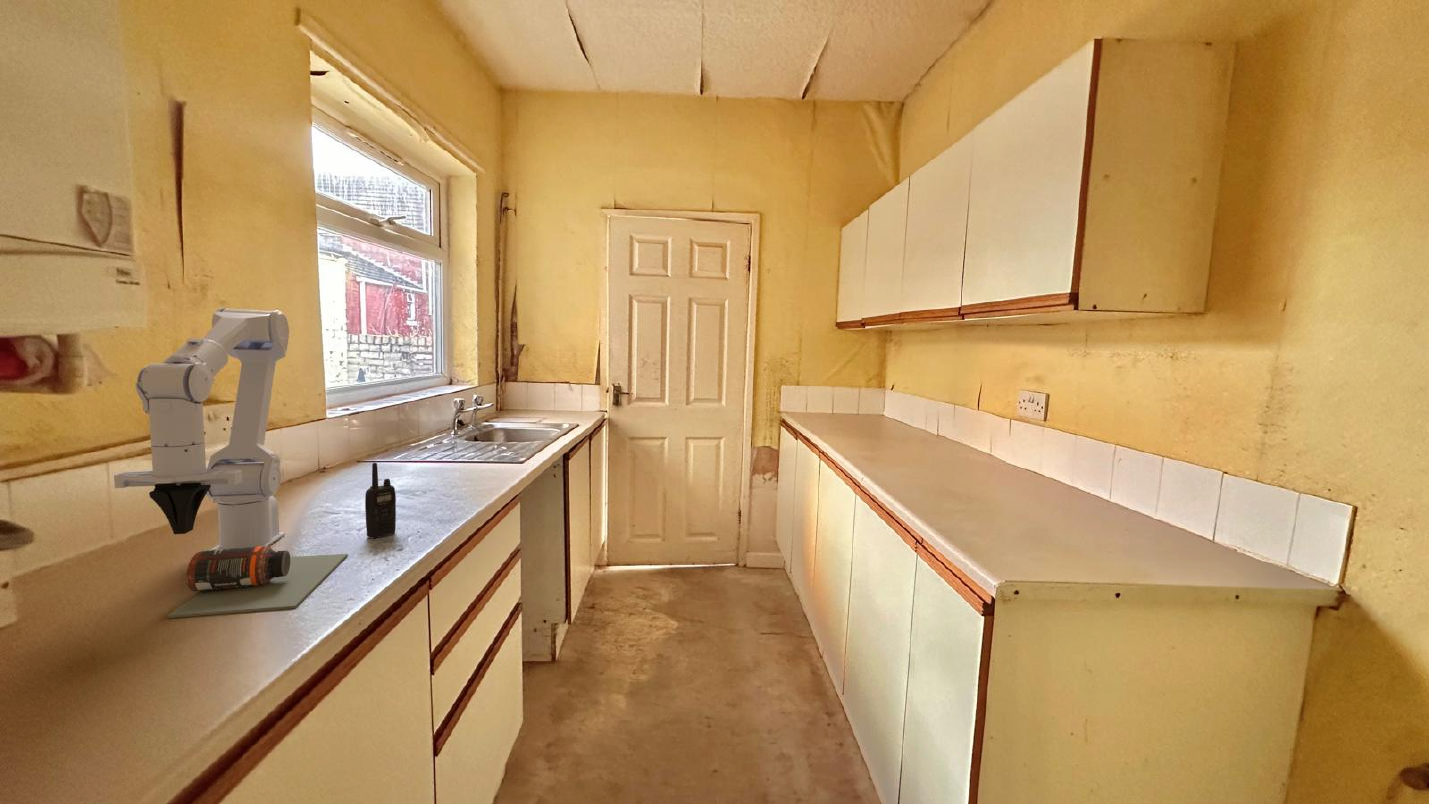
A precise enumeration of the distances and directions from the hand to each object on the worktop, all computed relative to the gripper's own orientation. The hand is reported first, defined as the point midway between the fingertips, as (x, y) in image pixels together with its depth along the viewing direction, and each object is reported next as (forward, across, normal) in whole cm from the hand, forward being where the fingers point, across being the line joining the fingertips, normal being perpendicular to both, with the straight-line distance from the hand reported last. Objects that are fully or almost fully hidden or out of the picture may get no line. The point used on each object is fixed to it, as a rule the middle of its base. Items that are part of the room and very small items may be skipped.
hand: (183, 532), depth 82 cm
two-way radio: (+9, +20, +21) cm, 31 cm away
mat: (+9, +11, 0) cm, 14 cm away
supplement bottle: (+6, +2, -2) cm, 6 cm away
